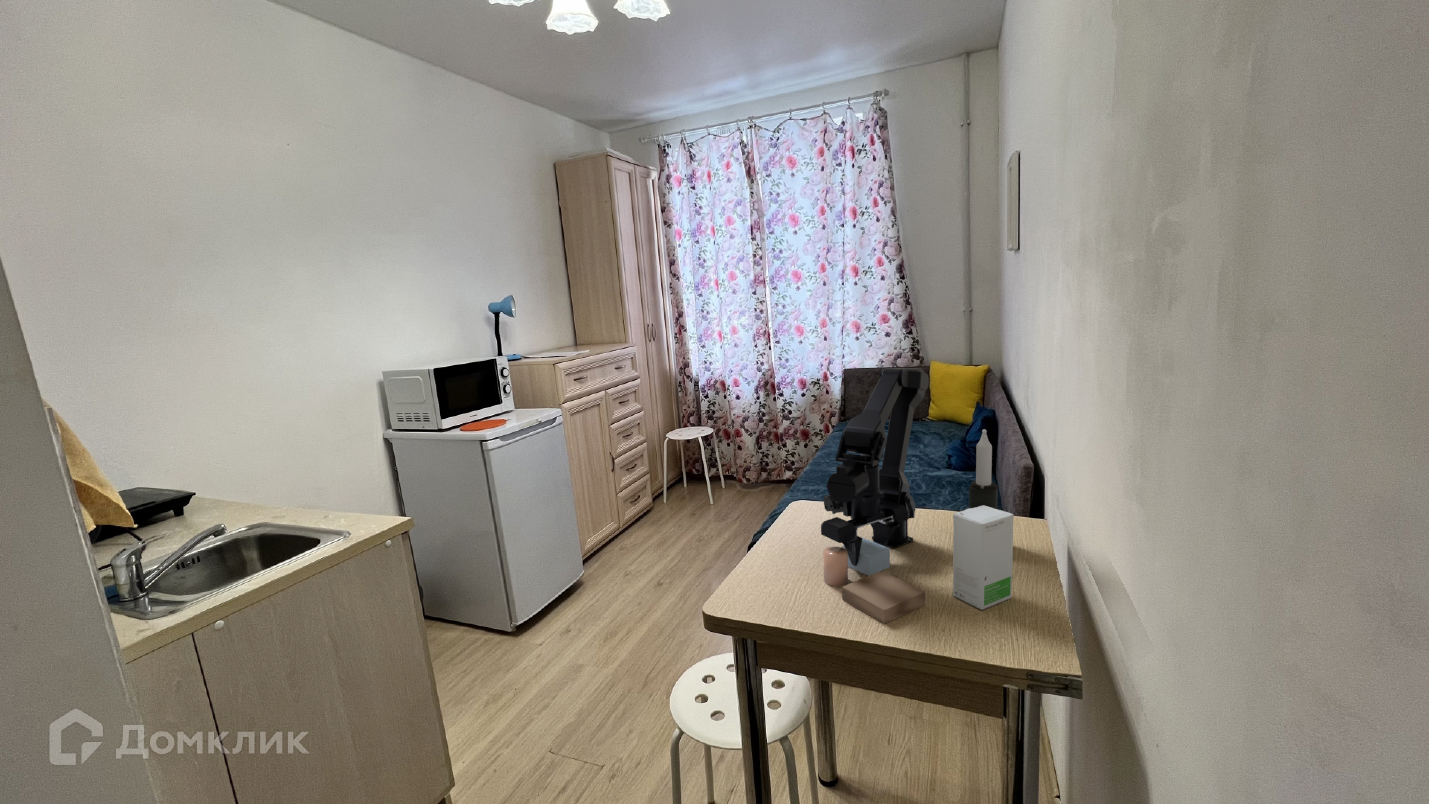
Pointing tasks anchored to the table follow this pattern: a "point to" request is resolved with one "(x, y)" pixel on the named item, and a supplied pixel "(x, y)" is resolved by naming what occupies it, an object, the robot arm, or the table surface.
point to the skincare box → (982, 556)
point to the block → (871, 558)
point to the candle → (983, 477)
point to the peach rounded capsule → (835, 566)
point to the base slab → (883, 596)
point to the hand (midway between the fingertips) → (866, 560)
